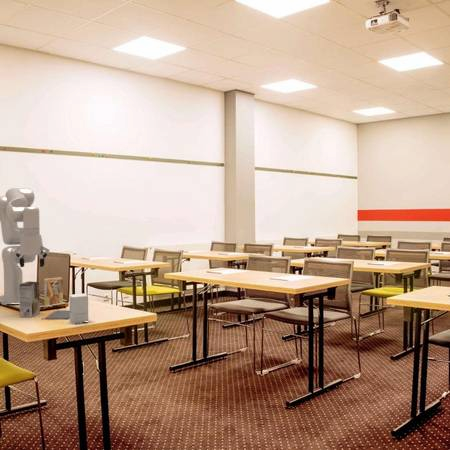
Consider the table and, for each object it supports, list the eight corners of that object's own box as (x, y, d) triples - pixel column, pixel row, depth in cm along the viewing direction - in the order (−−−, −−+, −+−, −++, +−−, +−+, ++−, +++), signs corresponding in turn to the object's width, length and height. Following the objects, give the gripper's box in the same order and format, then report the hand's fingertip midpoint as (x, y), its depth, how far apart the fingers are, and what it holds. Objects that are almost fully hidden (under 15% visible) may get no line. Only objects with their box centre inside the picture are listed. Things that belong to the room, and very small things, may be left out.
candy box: (60, 305, 278) (60, 277, 278) (63, 306, 275) (63, 278, 275) (44, 307, 273) (43, 278, 272) (46, 308, 270) (46, 279, 269)
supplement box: (85, 319, 244) (85, 293, 244) (88, 322, 238) (88, 295, 237) (69, 321, 241) (69, 294, 240) (72, 324, 234) (72, 296, 234)
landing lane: (41, 319, 244) (41, 318, 244) (53, 311, 262) (53, 310, 262) (68, 319, 244) (68, 318, 244) (78, 311, 262) (78, 310, 262)
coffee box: (27, 313, 258) (27, 281, 257) (40, 313, 257) (39, 281, 257) (19, 317, 249) (18, 284, 248) (32, 317, 248) (31, 284, 248)
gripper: (10, 232, 249) (11, 267, 249) (46, 232, 249) (46, 267, 249) (17, 232, 256) (17, 266, 257) (51, 231, 256) (52, 265, 256)
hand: (32, 266), depth 253 cm, fingers open, 9 cm apart
